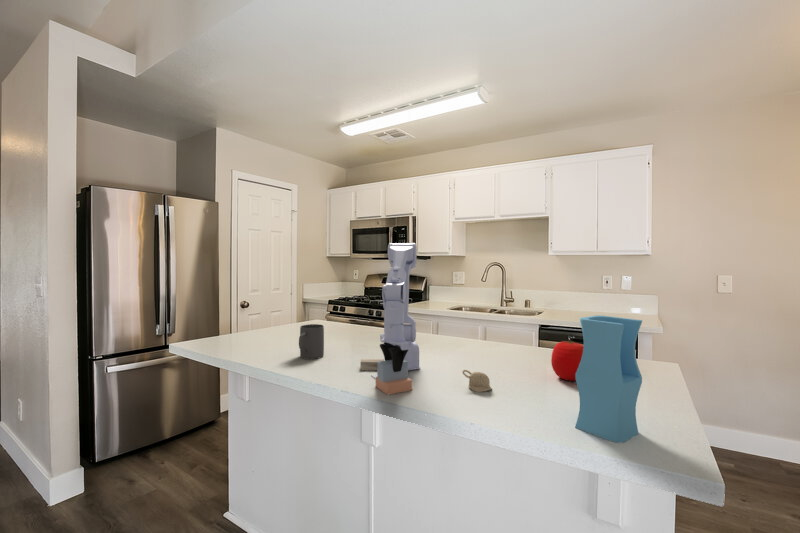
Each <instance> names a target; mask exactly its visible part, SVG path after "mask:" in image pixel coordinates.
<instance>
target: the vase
mask: <svg viewBox="0 0 800 533" xmlns="http://www.w3.org/2000/svg"><path fill="white" fill-rule="evenodd" d="M579 323H580V326H581V332H582V336H583V337H582V338H583V346H584V348H583V355H582V358H581V361H580V364H579V367H578V369H577V372H576V378H575V379H576V380H575V382H576V386H577V391H578V397H579V411H578V416H577V420H576V423H575V426H574V428H575V429H577V430H580V431H582V432H586V433H589V434H590V435H594V436H596V437H599V438H602V439H605V440H607V441H609V442H613V443H619V444H622V443H626V442H627V441H629V440H631V439H632V438H634V437H636V436H637V435H638V434H639V429H638V424H637V416H636V413H637V412H636V411H637V410H636V408H637V407H636V406H637V401H638V396H639V393H640V391H641V388H642V384H643V377H642V374H641V371H640V368H639V365H638V362H637V357H636V342H637V339H638V335H639V332H640V329H641V326H642V323H643V320H642V319H634V318H625V317H619V316H618V317H617V316H610V315H591V316H585V317H580V318H579Z"/></svg>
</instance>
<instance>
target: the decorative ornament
mask: <svg viewBox="0 0 800 533" xmlns="http://www.w3.org/2000/svg"><path fill="white" fill-rule="evenodd" d="M461 371H462V374H463V375H464V377H466V378H468V388H469V389H470V390H472V391H474V392H478V393H482V392H483V393H484V392H487V391H490V390H492V389H493V388H492V387H491V385H490V383H491V382H490V378H489V376H488V375H487V374H486V373H484V372H481V371H474V372H471V371H470V370H467V369H463V370H461ZM465 372H466V373H465Z"/></svg>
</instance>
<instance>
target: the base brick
mask: <svg viewBox="0 0 800 533" xmlns="http://www.w3.org/2000/svg"><path fill="white" fill-rule="evenodd" d="M375 387H376V388H377V389H379V390H380V391H382V392H383V393H385V394H386V395H392V394H398V393H403V392H409V391H412V390H413V379H411V378H410V377H408V378H406V379H400V380H394V381H388V382H382V381H381V380H379V379H377V376H376V379H375Z"/></svg>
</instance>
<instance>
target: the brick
mask: <svg viewBox="0 0 800 533" xmlns="http://www.w3.org/2000/svg"><path fill="white" fill-rule="evenodd" d="M378 361H385V358H361V359H360V371H377V362H378Z"/></svg>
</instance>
